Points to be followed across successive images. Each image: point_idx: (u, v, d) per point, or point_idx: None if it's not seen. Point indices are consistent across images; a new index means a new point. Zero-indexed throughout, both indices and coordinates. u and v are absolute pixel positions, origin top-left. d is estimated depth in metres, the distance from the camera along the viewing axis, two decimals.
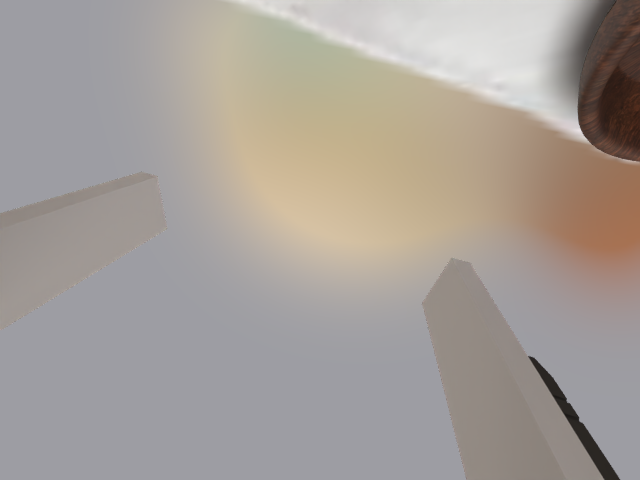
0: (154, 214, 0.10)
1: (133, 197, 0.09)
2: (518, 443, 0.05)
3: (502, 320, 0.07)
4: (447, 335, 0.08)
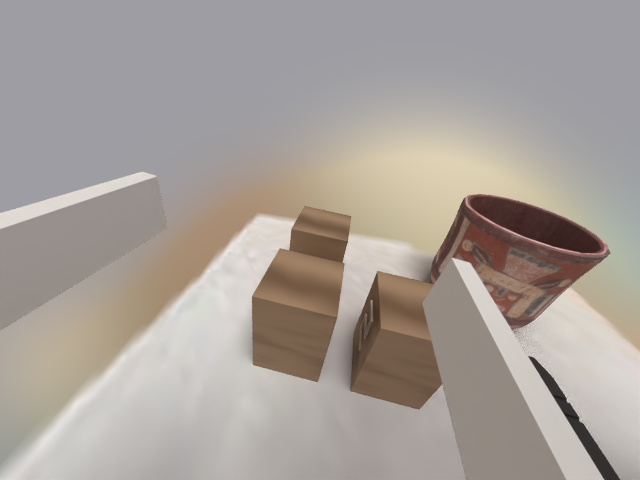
0: (154, 214, 0.10)
1: (133, 197, 0.09)
2: (518, 443, 0.05)
3: (502, 320, 0.07)
4: (447, 335, 0.08)
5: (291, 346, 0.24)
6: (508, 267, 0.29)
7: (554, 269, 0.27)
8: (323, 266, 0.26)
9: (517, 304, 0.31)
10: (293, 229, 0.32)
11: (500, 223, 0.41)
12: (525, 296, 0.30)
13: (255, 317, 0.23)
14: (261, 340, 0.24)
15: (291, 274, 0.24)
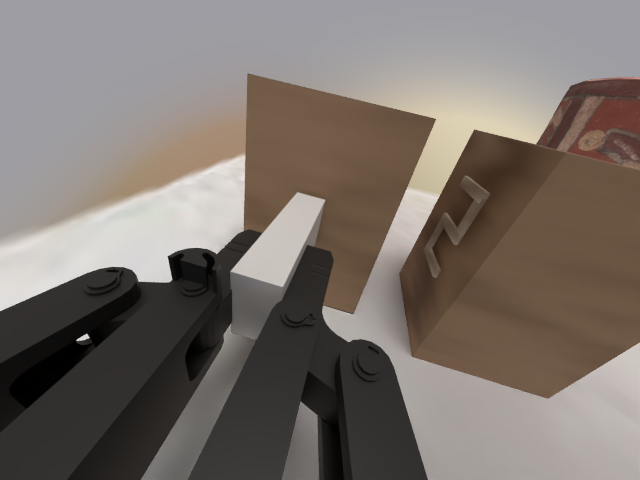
0: None
1: None
2: None
3: (312, 226, 0.09)
4: None
5: None
6: None
7: None
8: None
9: None
10: None
11: None
12: None
13: (251, 147, 0.11)
14: (259, 215, 0.13)
15: None
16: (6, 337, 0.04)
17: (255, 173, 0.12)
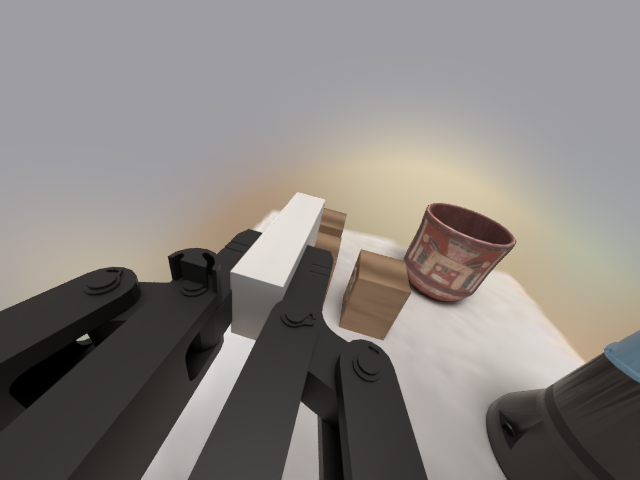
0: None
1: None
2: None
3: (313, 227, 0.09)
4: None
5: None
6: (449, 252, 0.43)
7: (476, 254, 0.41)
8: (328, 238, 0.42)
9: (456, 279, 0.45)
10: None
11: (457, 225, 0.56)
12: (461, 273, 0.44)
13: None
14: None
15: None
16: (6, 337, 0.04)
17: None
